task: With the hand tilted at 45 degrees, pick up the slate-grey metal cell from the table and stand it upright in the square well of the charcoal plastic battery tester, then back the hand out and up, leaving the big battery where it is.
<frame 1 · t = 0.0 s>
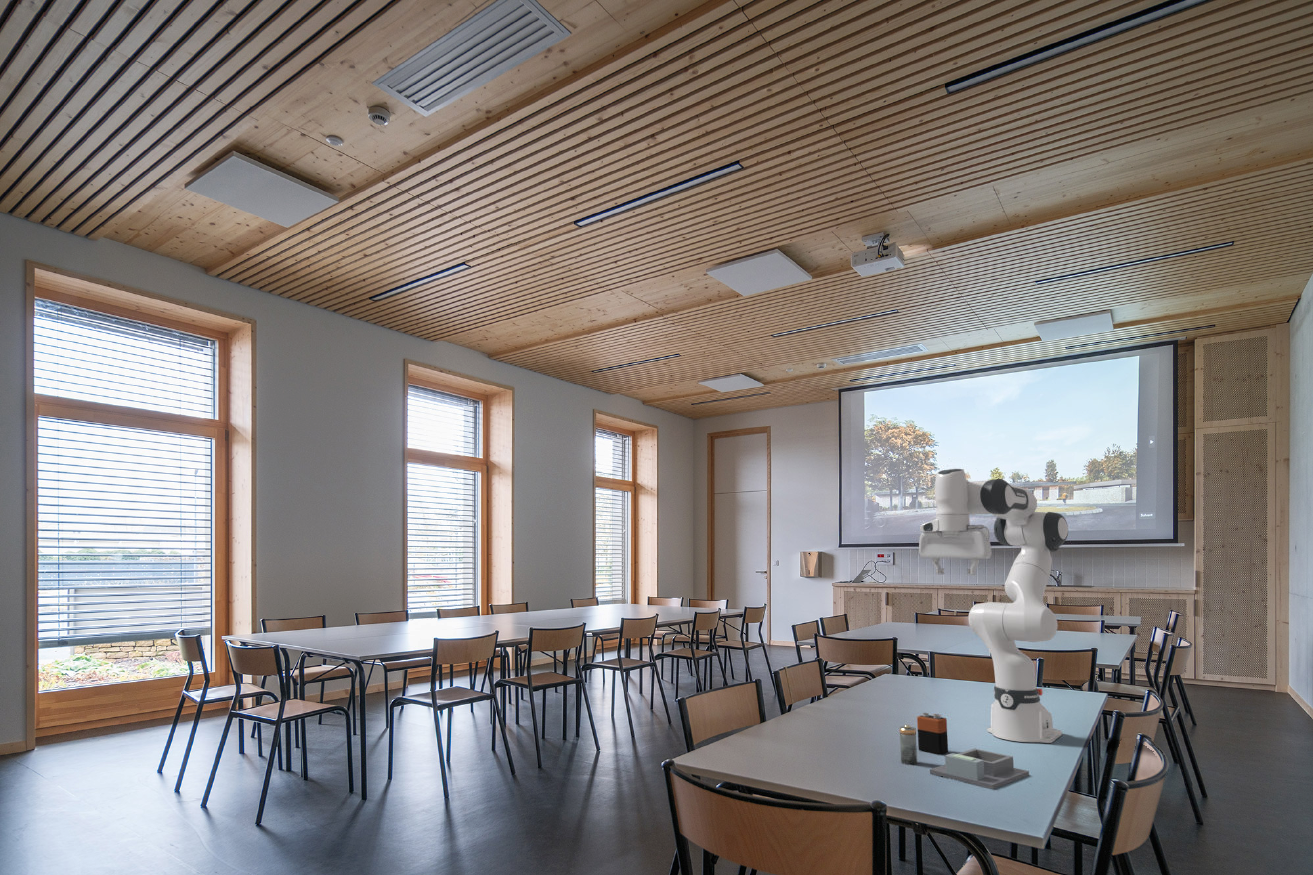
hand: (955, 574, 213), 48 cm above the table, tool pointing down, fingers open, 8 cm apart
tester: (979, 774, 187), on the table
cell: (909, 762, 197), on the table
battery: (933, 752, 208), on the table
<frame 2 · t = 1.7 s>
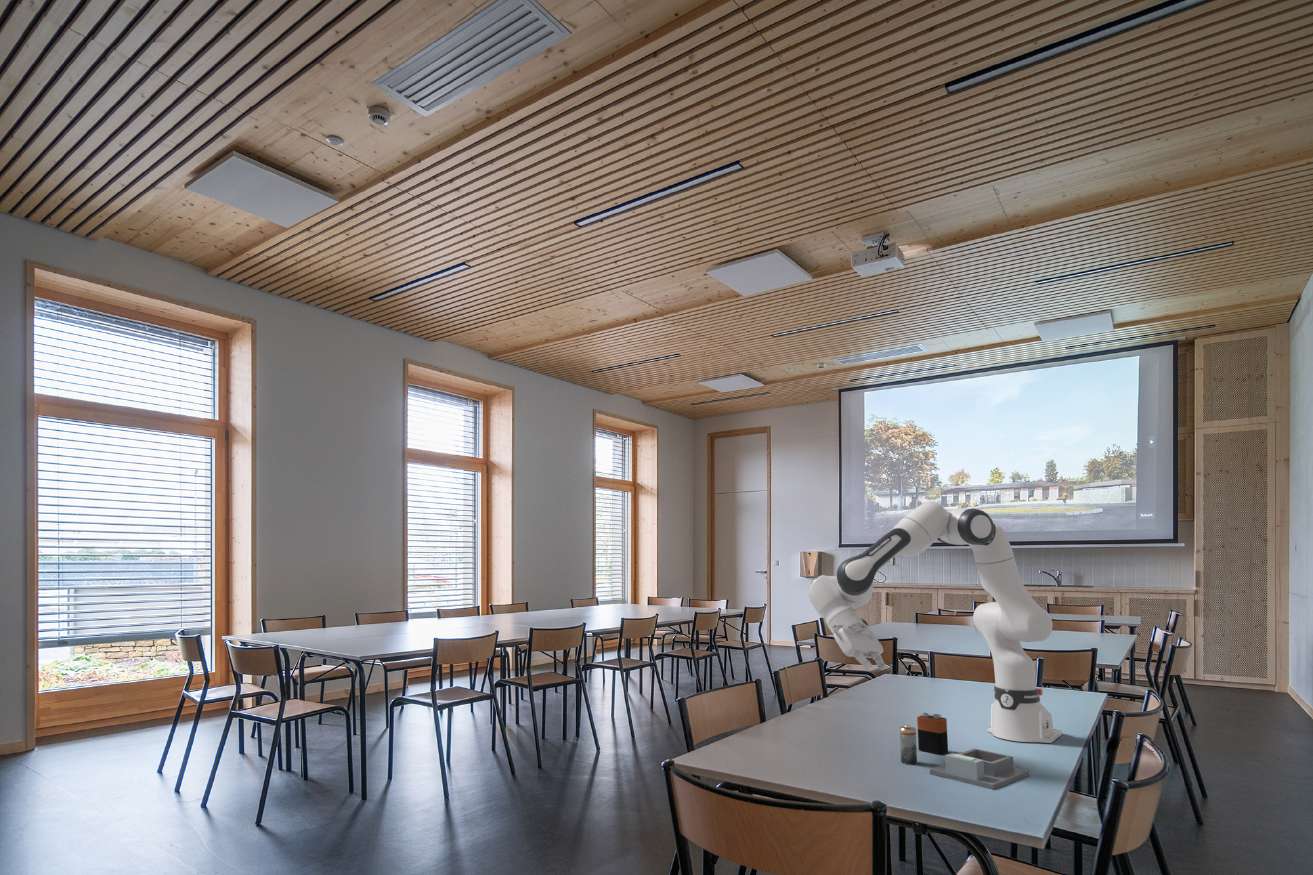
hand: (876, 668, 207), 23 cm above the table, tool tilted 40°, fingers open, 8 cm apart
nothing on the table moved.
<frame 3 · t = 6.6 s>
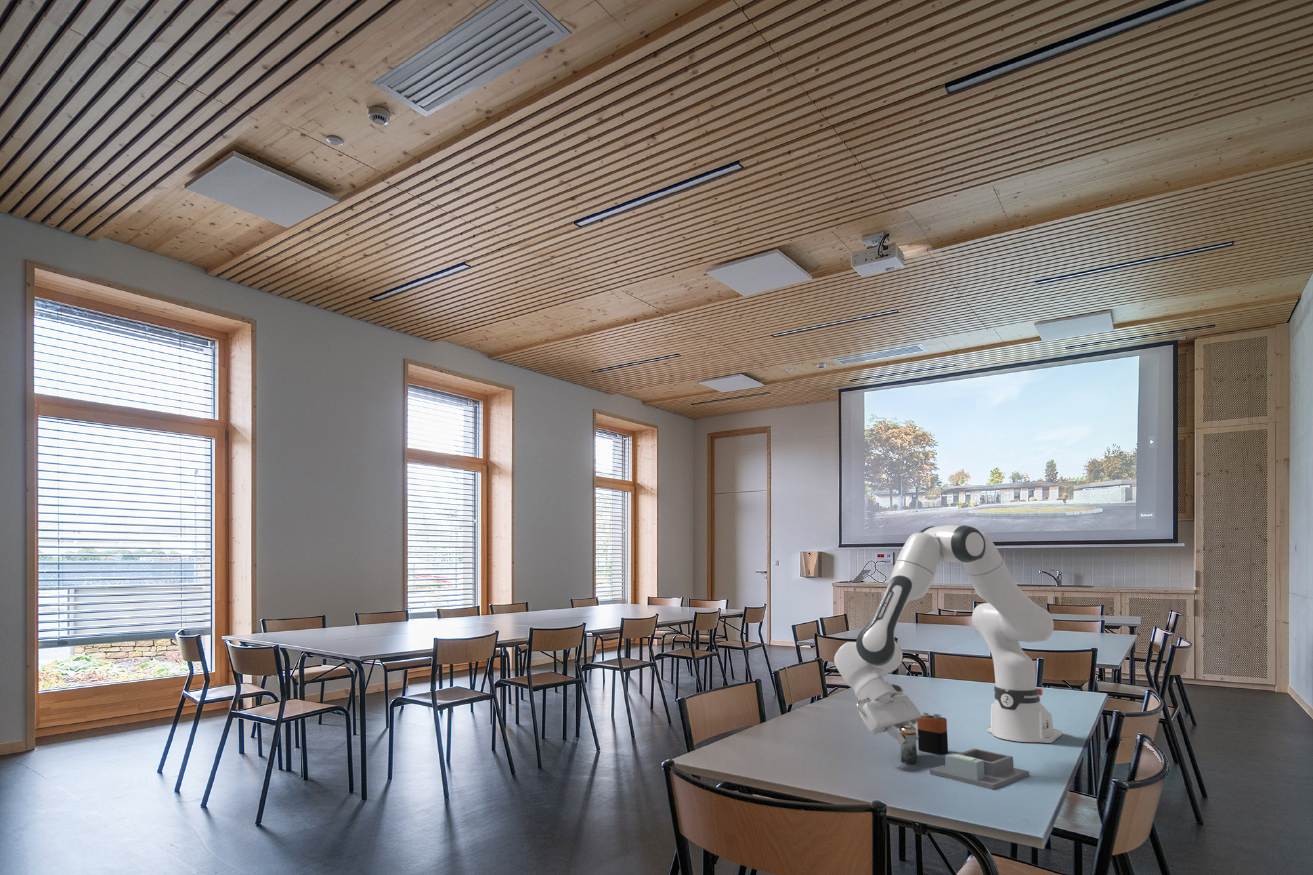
hand: (910, 741, 197), 5 cm above the table, tool tilted 45°, fingers closed on cell, 4 cm apart
cell: (909, 762, 197), on the table, touching gripper
everything else where it was.
when the fingers open (8 cm above the table, at t = 14.3 s): cell drops 1 cm, resting on tester.
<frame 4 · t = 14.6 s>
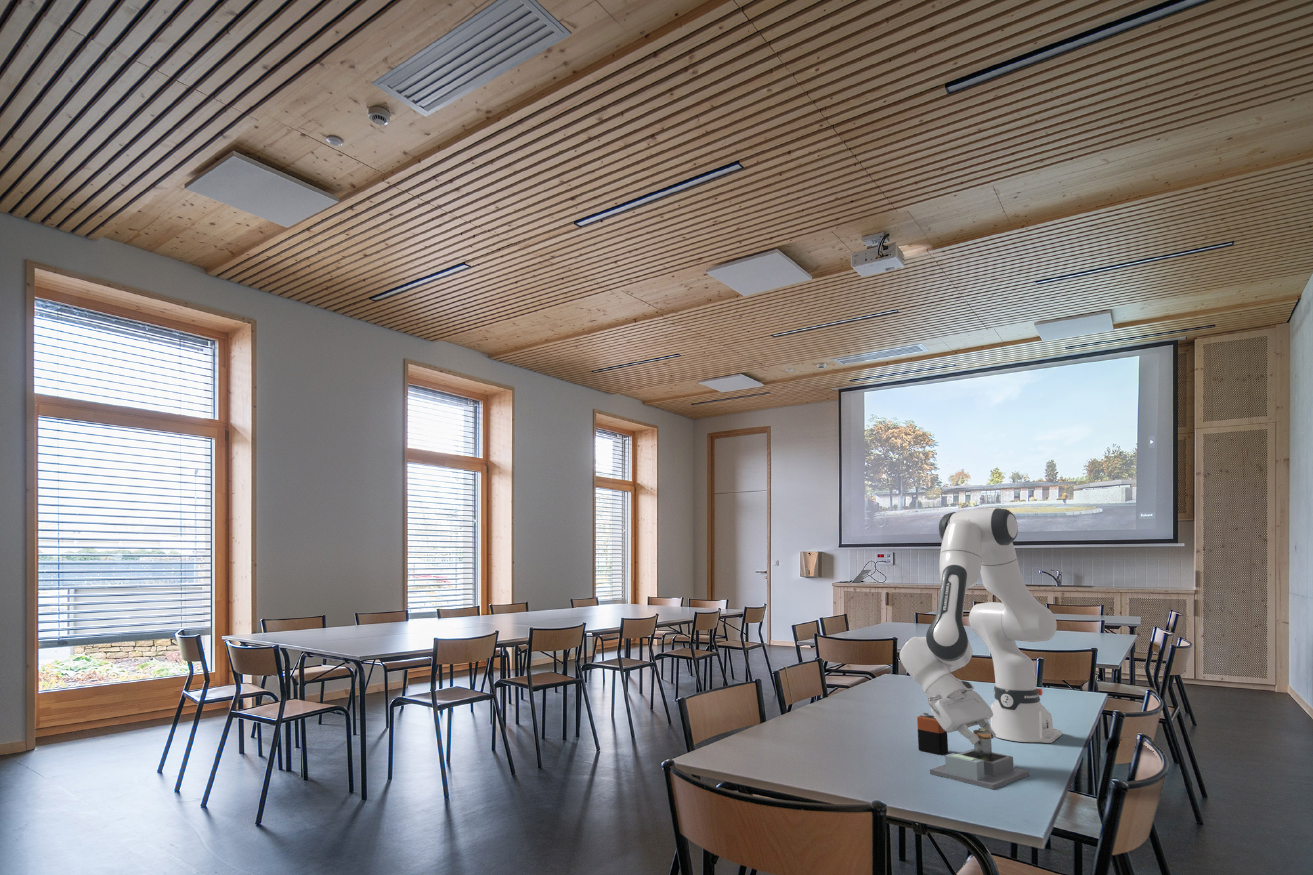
hand: (985, 740, 189), 8 cm above the table, tool tilted 45°, fingers open, 7 cm apart
cell: (984, 767, 188), point 1 cm above the table, touching tester
everything else where it was.
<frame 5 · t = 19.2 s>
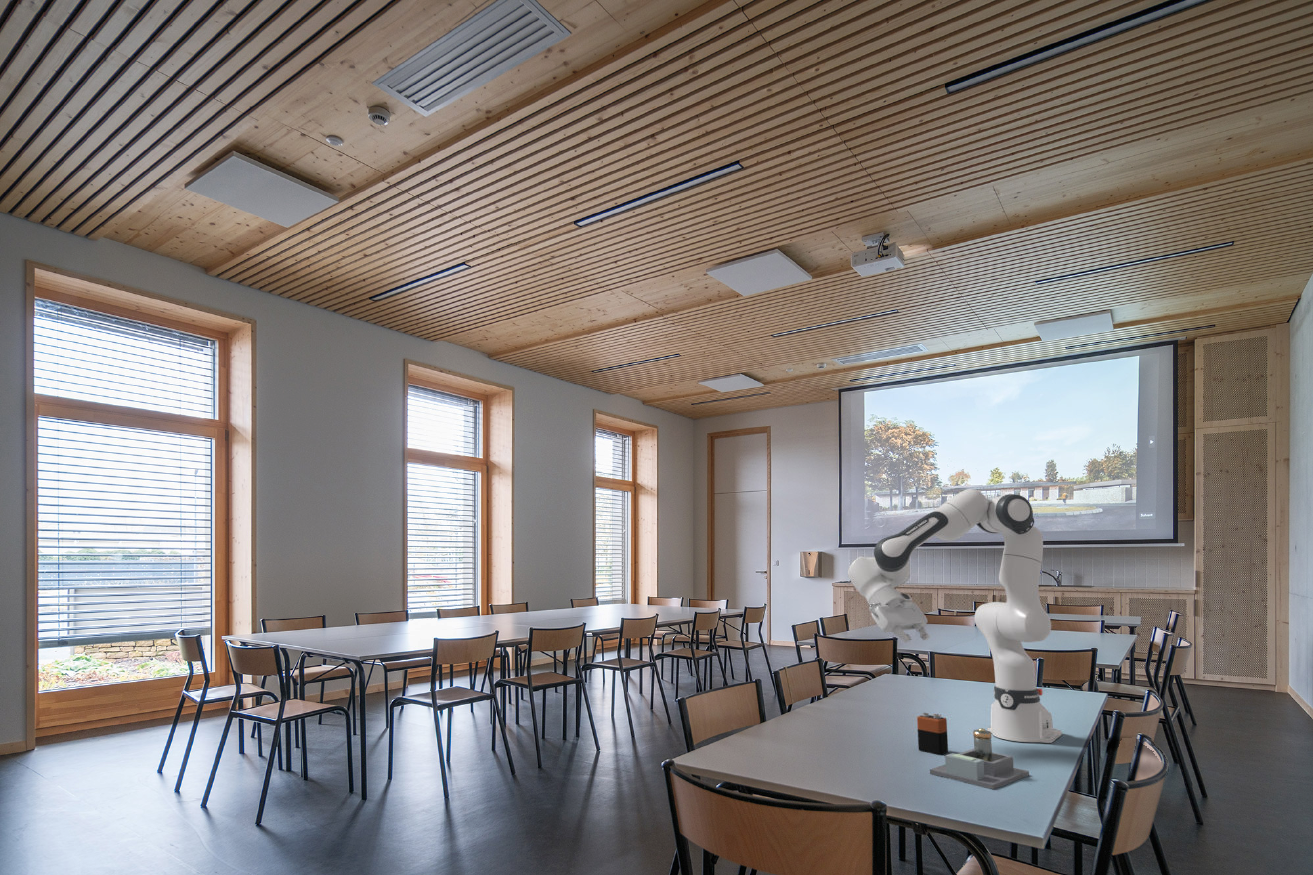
hand: (917, 639, 217), 29 cm above the table, tool tilted 45°, fingers open, 8 cm apart
nothing on the table moved.
at the end: cell 0.1 cm from the target spot on the tester, point 1.2 cm above the tester's base; cell tilted 1°; the gripper is holding nothing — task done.
